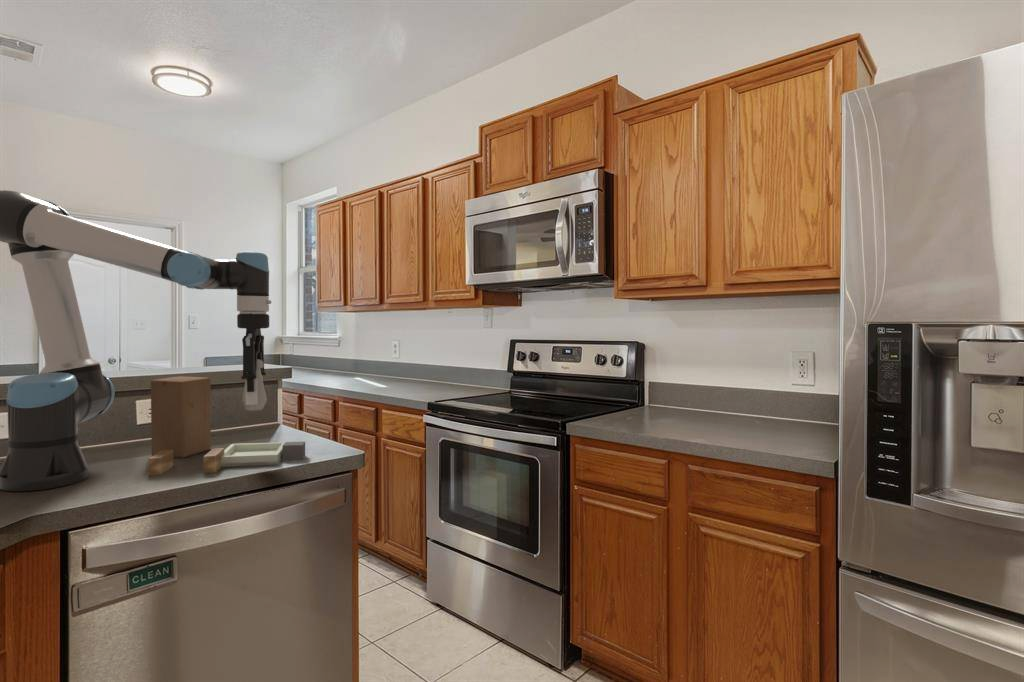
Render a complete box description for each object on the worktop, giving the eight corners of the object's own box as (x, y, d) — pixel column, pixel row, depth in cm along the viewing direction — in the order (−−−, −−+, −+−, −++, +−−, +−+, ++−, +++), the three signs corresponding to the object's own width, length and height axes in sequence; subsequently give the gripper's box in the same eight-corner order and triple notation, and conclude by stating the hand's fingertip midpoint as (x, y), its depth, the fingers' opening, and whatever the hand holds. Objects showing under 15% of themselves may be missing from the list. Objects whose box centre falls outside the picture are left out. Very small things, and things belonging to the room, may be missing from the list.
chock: (282, 460, 143) (282, 445, 143) (285, 457, 147) (285, 442, 147) (303, 460, 144) (303, 444, 144) (305, 456, 148) (305, 441, 148)
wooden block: (183, 458, 143) (182, 381, 142) (150, 455, 145) (149, 379, 144) (211, 449, 153) (211, 377, 152) (180, 446, 155) (179, 375, 154)
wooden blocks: (148, 475, 128) (148, 458, 127) (162, 466, 135) (161, 450, 135) (215, 472, 131) (215, 455, 131) (224, 463, 139) (224, 447, 139)
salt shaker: (268, 406, 147) (267, 358, 146) (265, 410, 142) (265, 360, 141) (243, 407, 145) (243, 358, 145) (240, 411, 140) (240, 360, 139)
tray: (216, 467, 136) (216, 457, 135) (231, 453, 149) (231, 443, 149) (277, 464, 139) (277, 454, 139) (286, 451, 152) (286, 442, 152)
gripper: (261, 313, 134) (262, 408, 135) (275, 313, 152) (276, 396, 153) (227, 312, 132) (229, 408, 133) (246, 312, 150) (247, 397, 152)
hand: (254, 402), depth 143 cm, fingers closed on salt shaker, 6 cm apart
